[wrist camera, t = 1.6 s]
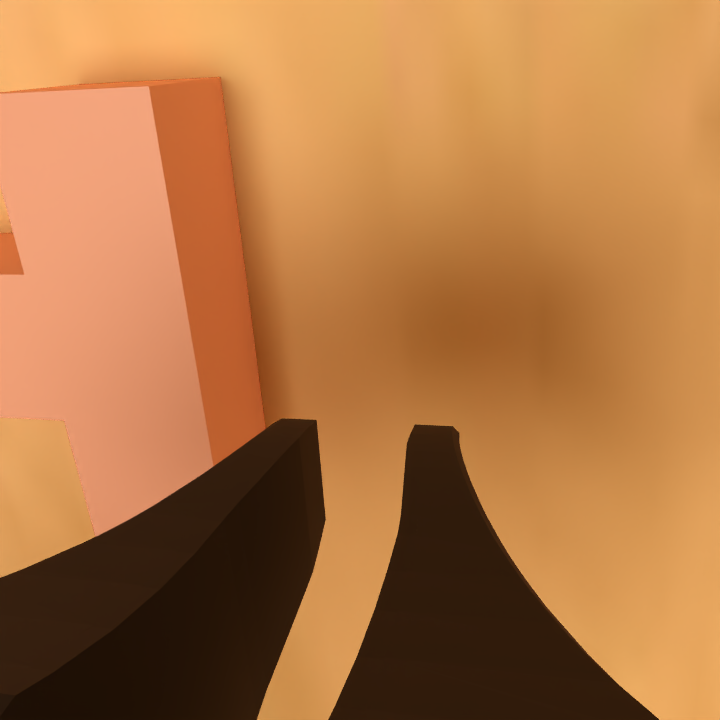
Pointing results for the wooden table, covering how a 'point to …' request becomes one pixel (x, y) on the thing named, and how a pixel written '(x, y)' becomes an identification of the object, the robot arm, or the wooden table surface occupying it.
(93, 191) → the t block
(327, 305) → the wooden table surface
